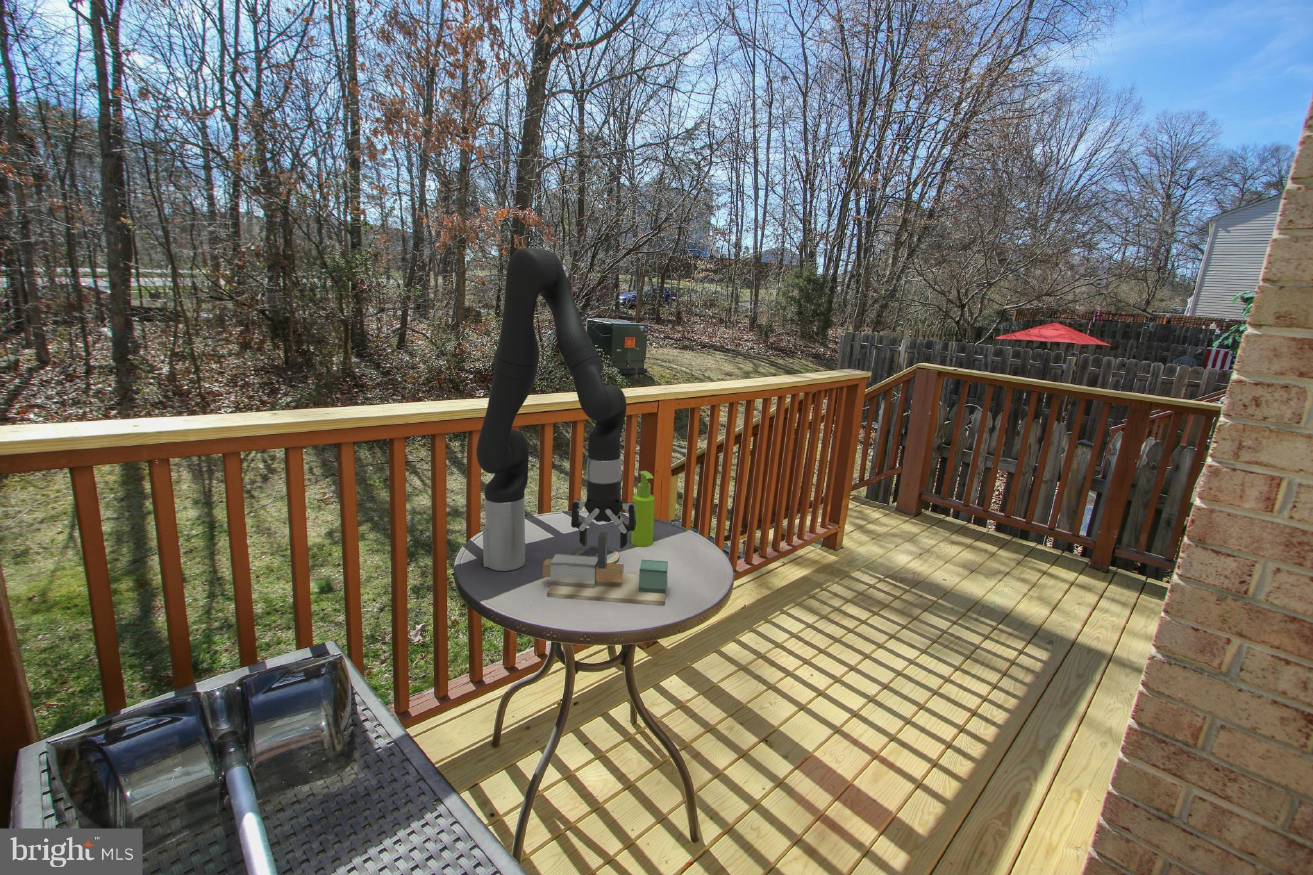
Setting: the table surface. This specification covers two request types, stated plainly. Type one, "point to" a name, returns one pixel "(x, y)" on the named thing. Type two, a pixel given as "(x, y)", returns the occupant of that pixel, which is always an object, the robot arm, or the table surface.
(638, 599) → the base board
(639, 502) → the soap dispenser
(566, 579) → the outer sleeve
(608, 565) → the inner bar
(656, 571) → the socket block
